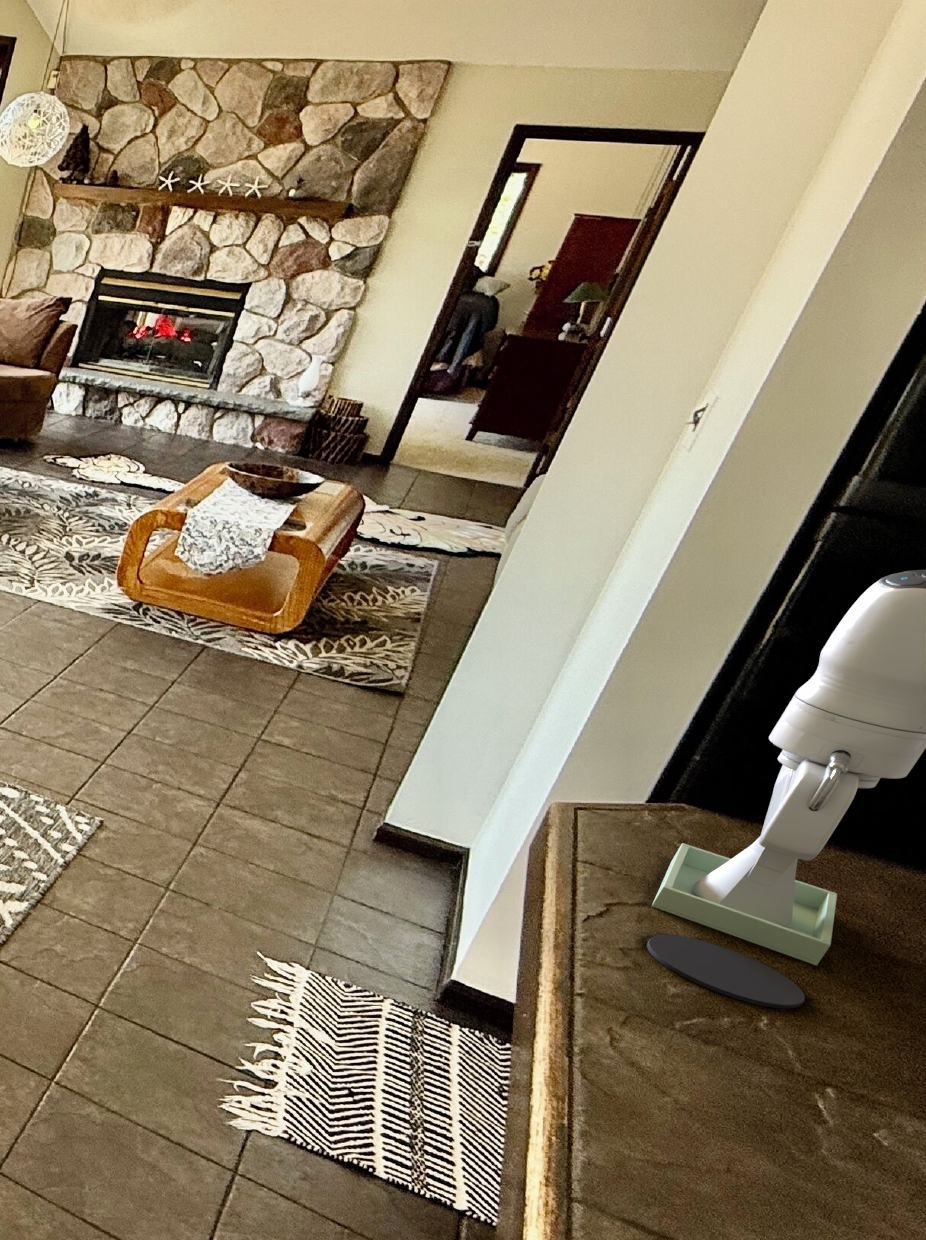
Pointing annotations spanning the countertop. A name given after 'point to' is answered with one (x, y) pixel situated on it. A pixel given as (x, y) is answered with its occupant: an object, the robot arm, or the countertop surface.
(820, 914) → the tray
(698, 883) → the flask
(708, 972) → the mat
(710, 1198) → the countertop surface
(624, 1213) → the countertop surface
